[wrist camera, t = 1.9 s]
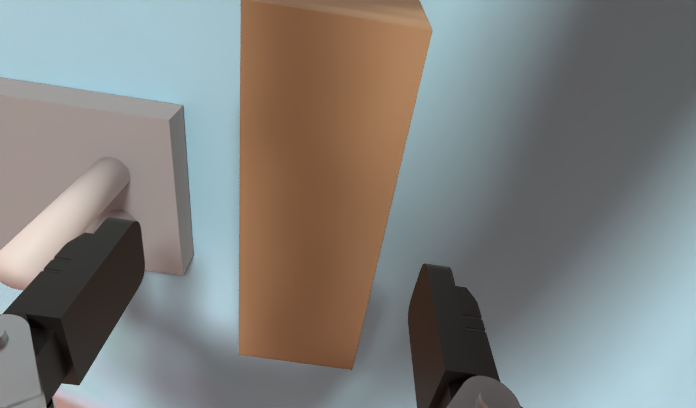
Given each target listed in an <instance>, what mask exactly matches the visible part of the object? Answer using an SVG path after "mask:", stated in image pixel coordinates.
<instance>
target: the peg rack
mask: <svg viewBox="0 0 696 408" xmlns="http://www.w3.org/2000/svg"><path fill="white" fill-rule="evenodd" d="M109 217H112V218H119V219H126V220H133V221H138V222H139V223H140V226H141V233H142V241H143V250H144V258H145V270H146V271H153V272H161V273H168V274H175V275H182V276H183V275H184V273H185V271H186V269H187V267H188V265H189V263H190V261H191V259H192V257H193V255H194V253H193V239H192V225H191V211H190V196H189V182H188V168H187V154H186V139H185V125H184V111H183V105H178V104H171V103H165V102H158V101H151V100H145V99H138V98H132V97H125V96H118V95H112V94H105V93H99V92H92V91H85V90H79V89H72V88H66V87H59V86H52V85H46V84H39V83H33V82H26V81H19V80H13V79H6V78H0V282H2V283H3V284H5V285H7V286H9V287H11V288H14V289H18V290H25V288H26V287H27V286H28V285H29V284H30V283H31V282H32V281H33V280H34V279H35V277H36V276H37V275H38V274H39V273H40V272H41V271H43V270H44V267H45V266H46V265H47V264H48V263H49V262H50V261H51V260H53V259H54V256H55V255H56V254H57V253H58V252H59V251H60V250H61V249H62V248H63V246H64V245H65V244H66V243H68V242H69V241H71V240H73V239H75V238H76V237H78V236H80V235H81V234H83V233H92V234H94V232H95V231H96V230H97V229H98V228H99V226H100V225H101V224H102V223H103V222H104V221H105V220H106V219H107V218H109Z"/></svg>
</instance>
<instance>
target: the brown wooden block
mask: <svg viewBox="0 0 696 408" xmlns="http://www.w3.org/2000/svg"><path fill="white" fill-rule="evenodd" d="M431 34H432V28H431V25H430V23H429V21H428V19H427V17H426V14H425V12H424V10H423V8H422V5H421V3H420V1H419V0H241V60H240V225H239V355H245V356H253V357H260V358H268V359H275V360H283V361H290V362H298V363H305V364H313V365H320V366H328V367H335V368H343V369H350V370H352V368H353V364H354V359H355V355H356V351H357V347H358V342H359V338H360V334H361V330H362V326H363V321H364V317H365V313H366V309H367V304H368V300H369V296H370V292H371V288H372V283H373V279H374V275H375V271H376V266H377V262H378V258H379V254H380V250H381V245H382V241H383V237H384V233H385V228H386V224H387V220H388V216H389V212H390V207H391V203H392V199H393V195H394V190H395V186H396V182H397V178H398V174H399V169H400V165H401V161H402V157H403V152H404V148H405V144H406V140H407V136H408V131H409V127H410V123H411V119H412V114H413V110H414V106H415V102H416V98H417V93H418V89H419V85H420V81H421V76H422V72H423V68H424V64H425V60H426V55H427V51H428V47H429V43H430V38H431Z"/></svg>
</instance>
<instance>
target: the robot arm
mask: <svg viewBox="0 0 696 408" xmlns="http://www.w3.org/2000/svg"><path fill="white" fill-rule="evenodd" d="M144 271H145V258H144V250H143V241H142V233H141V226H140V223H139V222H138V221H133V220H126V219H119V218H112V217H109V218H107V219H106V220H105V221H104V222H103V223H102V224H101V225H100V226H99V228H98V229H97V230H96V231H95V232H94V234H92V233H83V234H81V235H80V236H78V237H76V238H75V239H73V240H71V241H69V242H68V243H66V244H65V245H64V246H63V248H62V249H61V250H60V251H59V252H58V253H57V254H56V255H55V256H54V259H53V260H51V261H50V262H49V263H48V264H47V265H46V266H45V267H44V270H43V271H41V272H40V273H39V274H38V275H37V276H36V277H35V279H34V280H33V281H32V282H31V283H30V284H29V285H28V286H27V287H26V288H25V290H24V291H23V292H22V293H21V294H20V295H19V296H18V297H17V298H16V300H15V301H14V302H13V303H12V304H11V305H10V306H9V307H8V308H7V309H6V311H5V312H4V313H3V314H0V408H56V406H55V401H54V398H53V396H54V394H55V393H56V391H57V389H58V388H59V386H60V385H61V383H64V384H73V385H80V383H81V382H82V380H83V378H84V377H85V375H86V373H87V372H88V370H89V368H90V367H91V365H92V363H93V362H94V360H95V359H96V357H97V355H98V354H99V352H100V350H101V349H102V347H103V345H104V344H105V342H106V340H107V339H108V337H109V335H110V334H111V332H112V330H113V329H114V327H115V325H116V324H117V322H118V320H119V319H120V317H121V316H122V314H123V312H124V311H125V309H126V307H127V306H128V304H129V302H130V301H131V299H132V297H133V296H134V294H135V292H136V291H137V289H138V287H139V286H140V284H141V282H142V279H143V276H144ZM408 325H409V335H410V344H411V354H412V363H413V373H414V382H415V391H416V401H417V408H522V407H521V406H520V404H519V402H518V400H517V398H516V397H515V395H514V394H513V393H512V391H511V390H510V389H509V388H508V387H506V386H505V385H504V384H503V383H501V382H500V379H499V376H498V373H497V369H496V366H495V362H494V359H493V355H492V352H491V349H490V345H489V342H488V338H487V335H486V333H485V328H484V324H483V321H482V320H481V314H480V310H479V307H478V303H477V301H476V300H475V299H474V297H473V296H472V295H471V293H470V292H469V291H468V289H467V288H465V287H458V286H455V283H454V278H453V274H452V271H451V268H450V267H445V266H438V265H431V264H423V266H422V268H421V270H420V273H419V276H418V279H417V282H416V285H415V288H414V292H413V295H412V298H411V301H410V305H409V312H408Z"/></svg>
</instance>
